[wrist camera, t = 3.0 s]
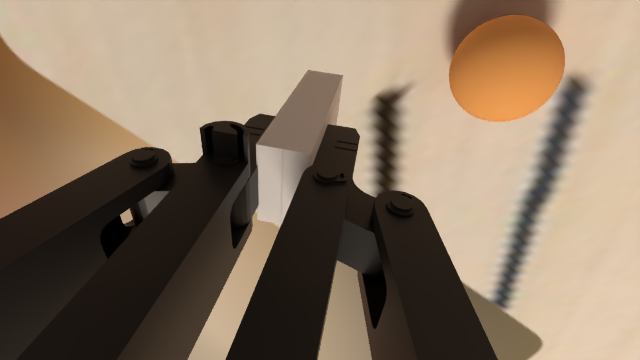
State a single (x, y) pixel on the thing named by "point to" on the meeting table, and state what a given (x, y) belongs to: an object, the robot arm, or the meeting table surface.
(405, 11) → the meeting table surface
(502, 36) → the ball
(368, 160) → the meeting table surface
